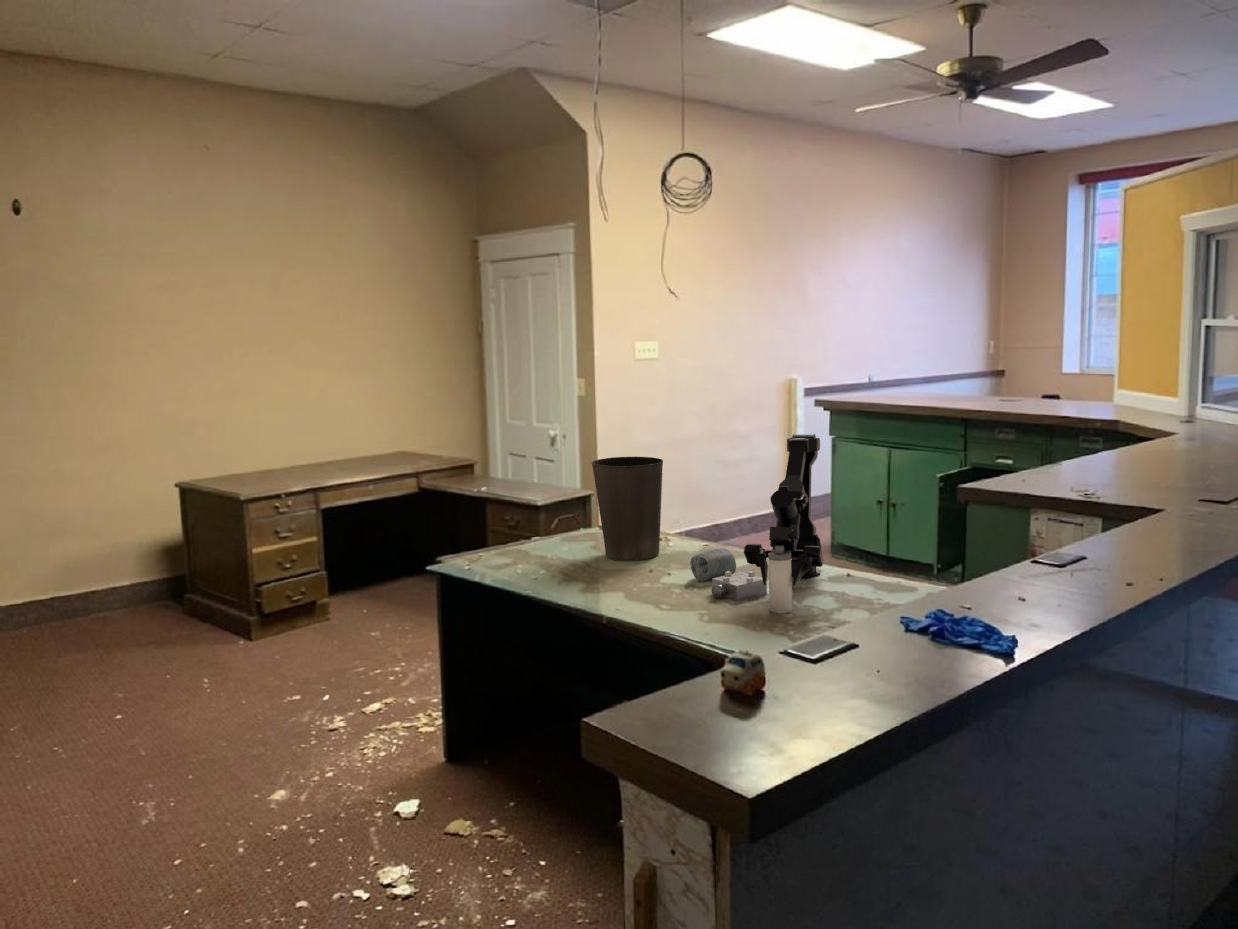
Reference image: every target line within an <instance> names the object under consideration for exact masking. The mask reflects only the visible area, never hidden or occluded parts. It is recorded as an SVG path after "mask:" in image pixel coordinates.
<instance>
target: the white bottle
mask: <svg viewBox="0 0 1238 929" xmlns="http://www.w3.org/2000/svg"><path fill="white" fill-rule="evenodd" d="M767 560H768V589H769V590H768V592H769V593H768V594H769V611H770V612H771V613H776V614H787V613H791V612H793V580H792V575H791V560H792V559H791V553H790V552H785V551H784V545H775V552H770V553H768V558H767Z"/></svg>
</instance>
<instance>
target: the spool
mask: <svg viewBox="0 0 1238 929" xmlns="http://www.w3.org/2000/svg"><path fill="white" fill-rule="evenodd" d="M736 562H737V561H736V558H735V556H734V554H733V552H732V551H730V550H729V549H727V548H721V547H720V548H712V549H708V550H706V551H702V552H699V553H696V554H694V555H693V556H692V557H691V558H690V569H691V573H692V574H693V577H694V578H695V579H696V580H697V581H698V582H701V583H702V582H707V581H710V580H712V578H716V577H721V576H725V572H727V571H730V572H732V574H734V573H736V569H737V563H736Z"/></svg>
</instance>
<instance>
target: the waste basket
mask: <svg viewBox="0 0 1238 929" xmlns="http://www.w3.org/2000/svg"><path fill="white" fill-rule="evenodd" d="M663 462H664V459H662V458H659V457H651V456H617V457H614V456H613V457H605V458H604V457H603V458H600V459H596V460H592V461H591V466H592V472H593V477H594V478H593V479H594V484H595V489H596V492H595V493H596V497H597V503H598V511H599V517H600V522H601V529H602V536H603V541H604V542H603V543H604V550H605V555H606V559H610V560H612V561H613V560H614V561H618V562H619V561H620V562H630V561H643V560H649V559H652V558H655V557H656V556H658V555H659V554H660V545H661V544H660V541H661V518H662V516H661V514H662V494H663V493H662V490H663V464H664V463H663Z"/></svg>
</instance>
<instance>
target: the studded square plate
mask: <svg viewBox="0 0 1238 929" xmlns="http://www.w3.org/2000/svg"><path fill="white" fill-rule="evenodd" d="M711 584H712V586H711V594H712V596H713V597H714V598H715V599H716V598H720V597H723V598H727V599H730V600H732V601H736V602H741V601H743V600H748V599H753V598H755V597H759V596H763V595H767V593H768V590H767V589H768V588H767V582H766V585H764V584H763V579H762V576H757V575H756V573H755V571H748V572H743V571H739V572H734V574H732V572H730V571H727V572H725V576H721V577H716V578H712V579H711Z"/></svg>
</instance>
